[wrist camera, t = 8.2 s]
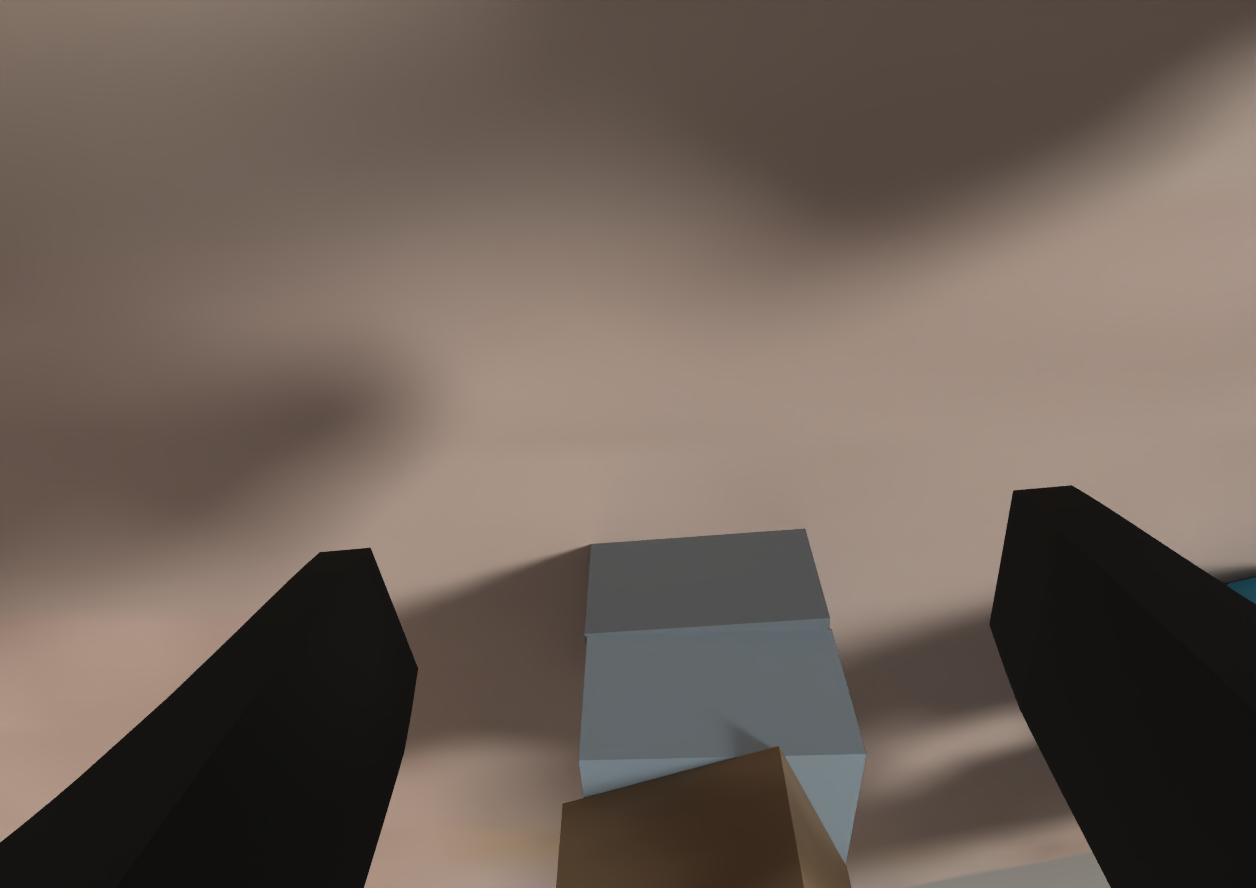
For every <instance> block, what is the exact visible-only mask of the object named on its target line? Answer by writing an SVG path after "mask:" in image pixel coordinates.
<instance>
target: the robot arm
mask: <svg viewBox="0 0 1256 888" xmlns="http://www.w3.org/2000/svg"><path fill="white" fill-rule="evenodd" d="M990 628H991V631H992V633H993V636H994V639H995V642H996V645H997V648H998V651H999V654H1000V657H1001V659H1002V662H1003V665H1004V668H1005V671H1006V674H1007V676H1008V679H1009V682H1010V684H1011V687H1012V689H1013V692H1014V695H1015V697H1016V700H1017V703H1018V705H1019V708H1020V710H1021V712H1022V714H1023V716H1024V718H1025V721H1026V723H1027V725H1028V727H1029V729H1030V731H1031V733H1032V735H1033V737H1034V739H1035V741H1036V743H1037V745H1038V746H1039V748H1040V750H1041V752H1042V754H1043V756H1044V758H1045V760H1046V762H1047V764H1048V766H1049V768H1050V770H1051V772H1052V774H1053V776H1054V778H1055V780H1056V782H1057V784H1058V786H1059V788H1060V790H1061V792H1062V794H1063V796H1064V798H1065V799H1066V801H1067V803H1068V805H1069V807H1070V809H1071V811H1072V813H1073V815H1074V817H1075V819H1076V821H1077V823H1078V825H1079V827H1080V829H1081V831H1082V832H1083V834H1084V836H1085V838H1086V840H1087V842H1088V844H1089V846H1090V848H1091V850H1092V852H1093V854H1094V856H1095V857H1096V860H1097V862H1098V864H1099V865H1100V867H1101V869H1102V871H1103V873H1104V875H1105V877H1106V879H1107V881H1108V883H1109V885H1110V887H1111V888H1256V604H1255V603H1253V602H1252V601H1250V600H1249V599H1247V598H1245V597H1244V596H1242V595H1241V594H1239V593H1238V592H1236V591H1234V590H1233V589H1231V588H1230V587H1228V586H1227V585H1225V584H1223V583H1222V582H1220V581H1219V580H1217V579H1216V578H1214V577H1213V576H1211V575H1210V574H1208V573H1207V572H1205V571H1203V570H1202V569H1200V568H1199V567H1197V566H1196V565H1194V564H1193V563H1191V562H1190V561H1188V560H1187V559H1185V558H1184V557H1182V556H1181V555H1179V554H1178V553H1176V552H1175V551H1173V550H1171V549H1170V548H1168V547H1167V546H1165V545H1164V544H1162V543H1161V542H1159V541H1158V540H1156V539H1155V538H1153V537H1152V536H1150V535H1149V534H1147V533H1146V532H1144V531H1143V530H1141V529H1140V528H1138V527H1137V526H1135V525H1134V524H1132V523H1130V522H1129V521H1127V520H1126V519H1124V518H1123V517H1121V516H1120V515H1118V514H1117V513H1115V512H1114V511H1112V510H1111V509H1109V508H1108V507H1106V506H1104V505H1103V504H1101V503H1100V502H1098V501H1097V500H1095V499H1093V498H1092V497H1090V496H1089V495H1087V494H1085V493H1084V492H1082V491H1080V490H1079V489H1077V488H1075V487H1074V486H1072V485H1071V486H1060V487H1048V488H1037V489H1026V490H1015V491H1013V495H1012V501H1011V506H1010V512H1009V518H1008V523H1007V529H1006V535H1005V540H1004V546H1003V551H1002V557H1001V563H1000V568H999V574H998V580H997V585H996V591H995V596H994V602H993V608H992V613H991V619H990ZM417 672H418V667H417V665H416V662H415V659H414V657H413V654H412V652H411V649H410V647H409V644H408V642H407V639H406V637H405V634H404V632H403V629H402V626H401V624H400V621H399V619H398V616H397V614H396V611H395V609H394V606H393V604H392V601H391V599H390V596H389V594H388V591H387V588H386V586H385V583H384V581H383V578H382V576H381V573H380V571H379V568H378V566H377V563H376V561H375V558H374V555H373V553H372V550H371V548H363V549H351V550H340V551H329V552H320V553H319V554H317V555H316V556H315V557H314V558H313V559H312V560H311V561H310V562H308V563H307V564H306V565H305V566H304V567H303V568H302V569H301V570H300V571H299V572H297V573H296V574H295V575H294V576H293V577H292V578H291V579H290V580H289V581H288V582H287V583H286V584H285V585H284V586H283V587H282V588H281V589H280V590H279V591H278V592H277V593H276V594H275V595H273V596H272V597H271V598H270V599H269V600H268V601H267V602H266V603H265V604H264V605H263V606H262V607H261V608H260V609H259V610H258V611H257V612H256V613H255V614H254V615H253V616H252V617H251V618H250V619H249V620H248V621H247V622H246V623H245V624H244V625H243V626H242V627H241V628H240V629H239V630H238V631H237V632H236V633H235V634H234V635H233V636H232V637H231V638H229V639H228V640H227V641H226V642H225V643H224V644H223V645H222V646H221V647H220V648H219V649H218V650H217V651H216V652H215V653H214V654H213V655H212V656H211V657H210V658H209V659H208V660H207V661H206V662H205V663H204V664H202V665H201V666H200V667H199V668H198V669H197V670H196V671H195V672H194V673H193V674H192V675H191V676H190V677H189V678H188V679H187V680H186V681H185V682H184V683H183V684H182V685H181V686H180V687H179V688H178V689H176V690H175V691H174V692H173V693H172V694H171V695H170V696H169V697H168V698H167V699H166V700H165V701H164V702H162V703H161V704H160V705H159V706H158V707H157V708H156V709H155V710H154V711H152V712H151V713H150V714H149V715H148V716H147V717H146V718H145V719H144V720H142V721H141V722H140V723H139V724H138V725H137V726H136V727H135V728H134V729H132V730H131V731H130V732H129V733H128V734H127V735H126V736H125V737H124V738H122V739H121V740H120V741H119V742H118V743H117V744H116V745H115V746H113V747H112V748H111V749H110V750H109V751H108V752H107V753H106V754H105V755H103V756H102V757H101V758H100V759H99V760H98V761H97V762H96V763H95V764H93V765H92V766H91V767H90V768H89V769H88V770H87V771H86V772H85V773H83V774H82V775H81V776H80V777H79V778H78V779H77V780H76V781H74V782H73V783H72V784H71V785H70V786H68V787H67V788H66V789H65V790H64V791H63V792H61V793H60V794H59V795H58V796H57V797H56V798H54V799H53V800H52V801H51V802H50V803H48V804H47V805H46V806H45V807H44V808H42V809H41V810H40V811H39V812H37V813H36V814H35V815H34V816H33V817H31V818H30V819H29V820H28V821H27V822H25V823H24V824H23V825H22V826H20V827H19V828H18V829H17V830H16V831H14V832H13V833H12V834H10V835H9V836H8V837H7V838H5V839H4V840H3V841H2V842H0V888H364V885H365V882H366V879H367V875H368V872H369V869H370V866H371V862H372V859H373V856H374V852H375V849H376V846H377V842H378V839H379V836H380V833H381V829H382V826H383V823H384V819H385V816H386V813H387V809H388V806H389V802H390V799H391V796H392V792H393V789H394V785H395V782H396V779H397V775H398V772H399V768H400V765H401V761H402V758H403V754H404V750H405V745H406V739H407V734H408V728H409V723H410V717H411V711H412V705H413V698H414V692H415V685H416V678H417Z"/></svg>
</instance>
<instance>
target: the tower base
mask: <svg viewBox="0 0 1256 888" xmlns="http://www.w3.org/2000/svg"><path fill="white" fill-rule="evenodd" d="M829 628H830V616H829V613H828V609H827V605H826V602H825V598H824V595H823V591H822V588H821V584H820V580H819V577H818V573H817V570H816V566H815V562H814V559H813V555H812V552H811V548H810V545H809V541H808V537H807V534H806V530H805V529H795V530H781V531H768V532H754V533H740V534H726V535H712V536H698V537H684V538H670V539H656V540H642V541H628V542H614V543H601V544H591V551H590V564H589V578H588V591H587V605H586V618H585V632H584V635H585V640H586V646H587V636H600V635H636V634H672V633H710V632H747V631H785V630H822V629H829Z"/></svg>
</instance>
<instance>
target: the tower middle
mask: <svg viewBox="0 0 1256 888" xmlns="http://www.w3.org/2000/svg"><path fill="white" fill-rule="evenodd" d="M777 746H779V747H780V749H781V750H782V752H783V754H784V756H785V757H786V759H787V761H788V763H789V765H790V766H791V768H792V770H793V772H794V774H795V775H796V777H797V779H798V781H799V782H800V784H801V786H802V788H803V790H804V791H805V793H806V795H807V797H808V799H809V800H810V802H811V804H812V806H813V807H814V809H815V811H816V813H817V815H818V816H819V818H820V820H821V822H822V823H823V825H824V827H825V829H826V831H827V832H828V834H829V836H830V838H831V840H832V841H833V843H834V845H835V847H836V849H837V850H838V852H839V854H840V856H841V858H842V859H843V861H844V863H845V865H846V861H847V855H848V850H849V845H850V839H851V834H852V829H853V823H854V818H855V813H856V807H857V802H858V797H859V791H860V786H861V780H862V775H863V770H864V764H865V759H866V751H865V747H864V744H863V740H862V736H861V733H860V729H859V726H858V722H857V718H856V715H855V711H854V708H853V704H852V701H851V697H850V693H849V690H848V686H847V683H846V679H845V675H844V672H843V668H842V665H841V661H840V657H839V654H838V650H837V647H836V643H835V640H834V636H833V632H832V629H822V630H785V631H747V632H710V633H672V634H636V635H600V636H587V646H586V661H585V675H584V690H583V704H582V719H581V734H580V748H579V767H580V774H581V782H582V790H583V797H584V798H587V797H590V796H594V795H598V794H601V793H605V792H609V791H613V790H616V789H620V788H624V787H628V786H631V785H635V784H639V783H642V782H646V781H650V780H654V779H657V778H661V777H665V776H669V775H672V774H676V773H680V772H683V771H687V770H691V769H695V768H698V767H702V766H706V765H710V764H713V763H717V762H721V761H724V760H728V759H732V758H736V757H739V756H743V755H747V754H751V753H754V752H758V751H762V750H765V749H769V748H773V747H777Z"/></svg>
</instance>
